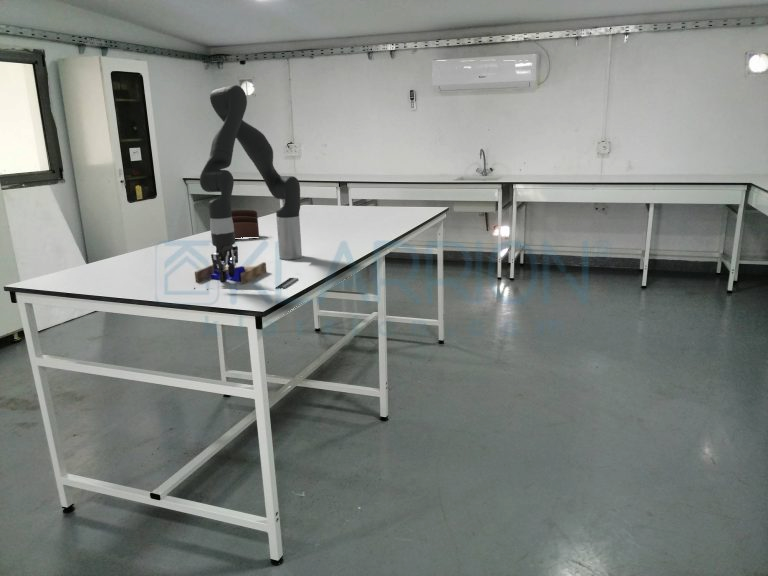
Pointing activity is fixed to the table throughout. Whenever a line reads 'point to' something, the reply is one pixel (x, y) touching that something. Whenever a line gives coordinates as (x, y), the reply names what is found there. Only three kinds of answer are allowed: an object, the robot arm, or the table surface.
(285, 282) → the rubber mat
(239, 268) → the blue curved piece
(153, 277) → the table surface
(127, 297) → the table surface
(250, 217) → the letter holder
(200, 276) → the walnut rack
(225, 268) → the upper offcut
